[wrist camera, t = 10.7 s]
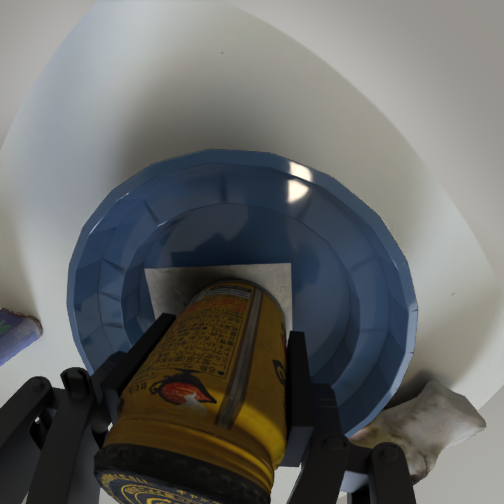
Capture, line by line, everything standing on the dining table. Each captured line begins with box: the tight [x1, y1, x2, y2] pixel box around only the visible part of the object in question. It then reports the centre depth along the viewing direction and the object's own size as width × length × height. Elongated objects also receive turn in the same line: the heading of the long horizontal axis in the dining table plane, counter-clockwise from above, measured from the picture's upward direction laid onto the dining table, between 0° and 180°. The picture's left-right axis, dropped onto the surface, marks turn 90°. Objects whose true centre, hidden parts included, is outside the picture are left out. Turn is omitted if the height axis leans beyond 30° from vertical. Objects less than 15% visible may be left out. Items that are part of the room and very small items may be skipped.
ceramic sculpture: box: [348, 380, 486, 485], centre depth 16 cm, size 11×9×15 cm
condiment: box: [93, 263, 292, 504], centre depth 10 cm, size 7×8×12 cm
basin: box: [67, 149, 418, 438], centre depth 16 cm, size 19×19×6 cm
